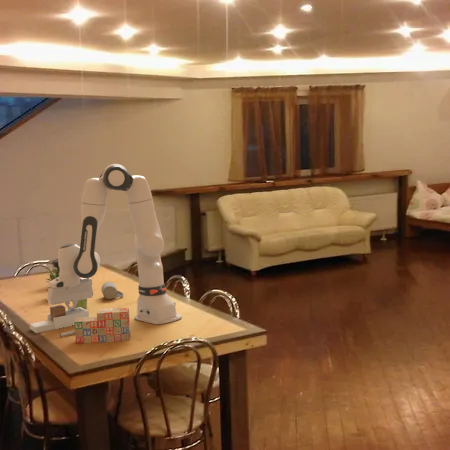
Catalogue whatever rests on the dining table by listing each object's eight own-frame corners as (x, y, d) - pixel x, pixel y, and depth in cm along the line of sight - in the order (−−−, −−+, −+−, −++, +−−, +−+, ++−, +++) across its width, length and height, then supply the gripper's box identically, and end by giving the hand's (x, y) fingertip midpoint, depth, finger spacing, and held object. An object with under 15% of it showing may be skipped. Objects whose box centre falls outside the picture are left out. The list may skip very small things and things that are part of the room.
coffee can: (55, 287, 352) (53, 262, 350) (52, 284, 361) (50, 259, 359) (74, 284, 356) (72, 260, 354) (70, 281, 365) (68, 257, 363)
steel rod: (92, 326, 270) (93, 330, 270) (91, 325, 271) (91, 329, 271) (61, 333, 262) (61, 337, 262) (59, 332, 263) (60, 337, 263)
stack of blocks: (75, 344, 252) (73, 314, 250) (78, 339, 258) (75, 310, 257) (129, 340, 253) (127, 311, 252) (130, 336, 260) (128, 306, 258)
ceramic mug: (103, 300, 318) (102, 285, 317) (101, 296, 326) (101, 282, 325) (124, 298, 321) (123, 283, 320) (122, 295, 329) (121, 280, 328)
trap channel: (89, 321, 282) (88, 310, 282) (36, 333, 269) (35, 322, 268) (81, 317, 289) (80, 307, 288) (30, 329, 275) (28, 317, 275)
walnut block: (66, 320, 278) (65, 306, 277) (55, 322, 275) (54, 309, 274) (61, 317, 282) (60, 304, 281) (51, 320, 279) (49, 306, 278)
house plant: (78, 293, 337) (75, 262, 334) (69, 299, 323) (66, 268, 321) (52, 293, 338) (49, 263, 336) (42, 300, 325) (39, 269, 322)
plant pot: (70, 312, 300) (69, 294, 298) (69, 307, 309) (68, 289, 307) (90, 309, 302) (89, 292, 301) (89, 305, 311) (88, 287, 310)
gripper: (88, 275, 288) (90, 305, 290) (45, 282, 276) (47, 313, 278) (94, 278, 283) (96, 308, 285) (50, 285, 271) (52, 316, 273)
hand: (71, 310), depth 282 cm, fingers closed
